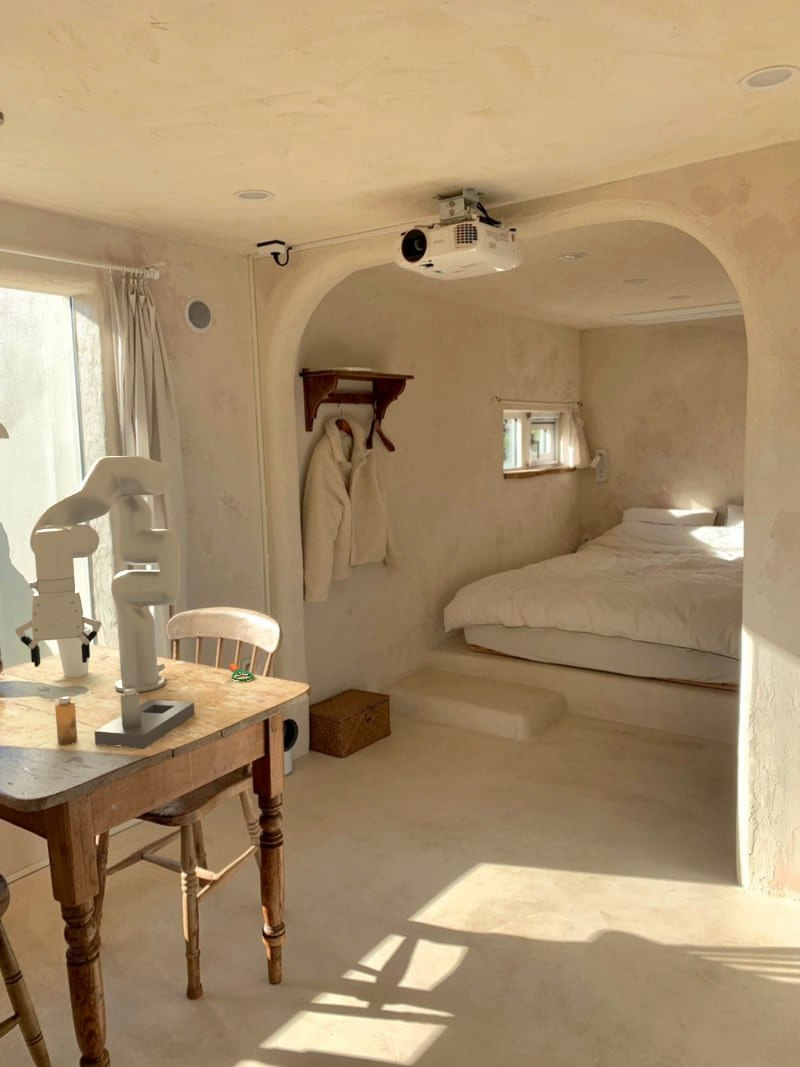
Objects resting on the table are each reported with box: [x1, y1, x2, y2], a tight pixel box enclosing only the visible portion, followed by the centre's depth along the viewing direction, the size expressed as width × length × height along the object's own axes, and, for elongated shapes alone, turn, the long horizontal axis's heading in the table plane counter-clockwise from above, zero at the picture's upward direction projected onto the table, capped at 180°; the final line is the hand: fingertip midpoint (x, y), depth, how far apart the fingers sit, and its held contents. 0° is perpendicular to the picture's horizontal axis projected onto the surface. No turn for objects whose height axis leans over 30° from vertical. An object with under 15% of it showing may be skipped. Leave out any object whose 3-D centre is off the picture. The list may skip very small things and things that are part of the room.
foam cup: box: [56, 625, 92, 678], centre depth 232 cm, size 10×9×13 cm
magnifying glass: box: [228, 663, 255, 682], centre depth 229 cm, size 15×6×2 cm, turn 25°
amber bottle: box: [54, 696, 78, 746], centre depth 179 cm, size 4×4×10 cm
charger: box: [94, 689, 195, 749], centre depth 186 cm, size 22×12×11 cm, turn 166°
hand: (61, 663), depth 177 cm, fingers open, 9 cm apart
